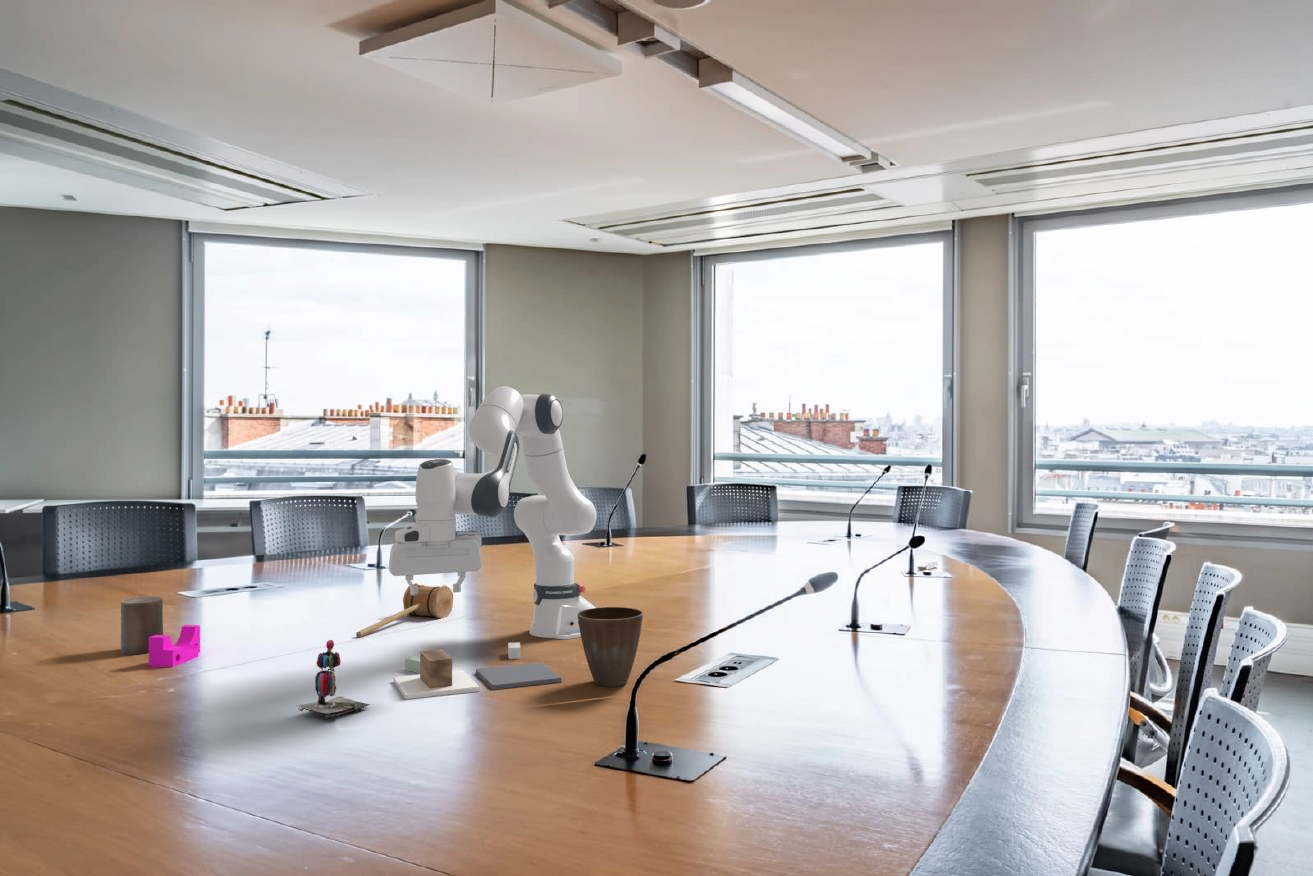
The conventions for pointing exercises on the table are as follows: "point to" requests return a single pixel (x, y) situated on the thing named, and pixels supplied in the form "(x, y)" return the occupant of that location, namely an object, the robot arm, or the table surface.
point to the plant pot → (610, 642)
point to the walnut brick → (436, 668)
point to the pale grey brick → (514, 650)
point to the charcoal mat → (517, 675)
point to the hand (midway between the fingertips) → (435, 593)
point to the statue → (330, 688)
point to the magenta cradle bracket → (174, 647)
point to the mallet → (420, 605)
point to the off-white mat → (418, 689)
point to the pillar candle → (140, 623)
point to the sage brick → (412, 664)
